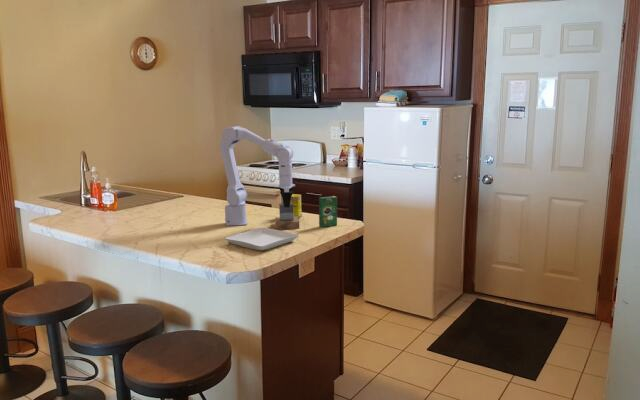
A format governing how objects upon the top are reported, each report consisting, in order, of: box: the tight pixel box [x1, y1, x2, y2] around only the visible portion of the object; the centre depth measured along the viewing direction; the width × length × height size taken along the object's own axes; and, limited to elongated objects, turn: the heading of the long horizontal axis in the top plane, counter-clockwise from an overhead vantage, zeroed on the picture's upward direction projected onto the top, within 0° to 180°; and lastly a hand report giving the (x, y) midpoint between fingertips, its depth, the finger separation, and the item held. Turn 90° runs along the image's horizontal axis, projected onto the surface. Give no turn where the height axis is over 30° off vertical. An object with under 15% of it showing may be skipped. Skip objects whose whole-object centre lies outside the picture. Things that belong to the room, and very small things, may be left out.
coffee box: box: [318, 195, 338, 228], centre depth 225 cm, size 8×3×13 cm, turn 119°
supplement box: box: [290, 193, 303, 220], centre depth 241 cm, size 6×6×11 cm
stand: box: [275, 216, 300, 230], centre depth 227 cm, size 10×10×3 cm
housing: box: [278, 202, 294, 221], centre depth 226 cm, size 6×4×8 cm, turn 96°
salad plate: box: [225, 227, 299, 251], centre depth 202 cm, size 21×21×3 cm
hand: (286, 205), depth 226 cm, fingers open, 7 cm apart
